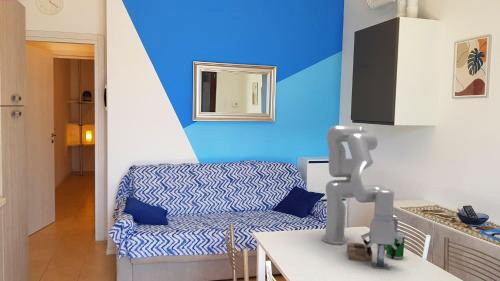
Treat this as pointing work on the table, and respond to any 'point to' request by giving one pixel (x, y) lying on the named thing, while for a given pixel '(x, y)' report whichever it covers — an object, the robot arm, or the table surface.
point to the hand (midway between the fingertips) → (380, 256)
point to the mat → (380, 267)
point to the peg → (380, 255)
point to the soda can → (399, 250)
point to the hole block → (358, 252)
